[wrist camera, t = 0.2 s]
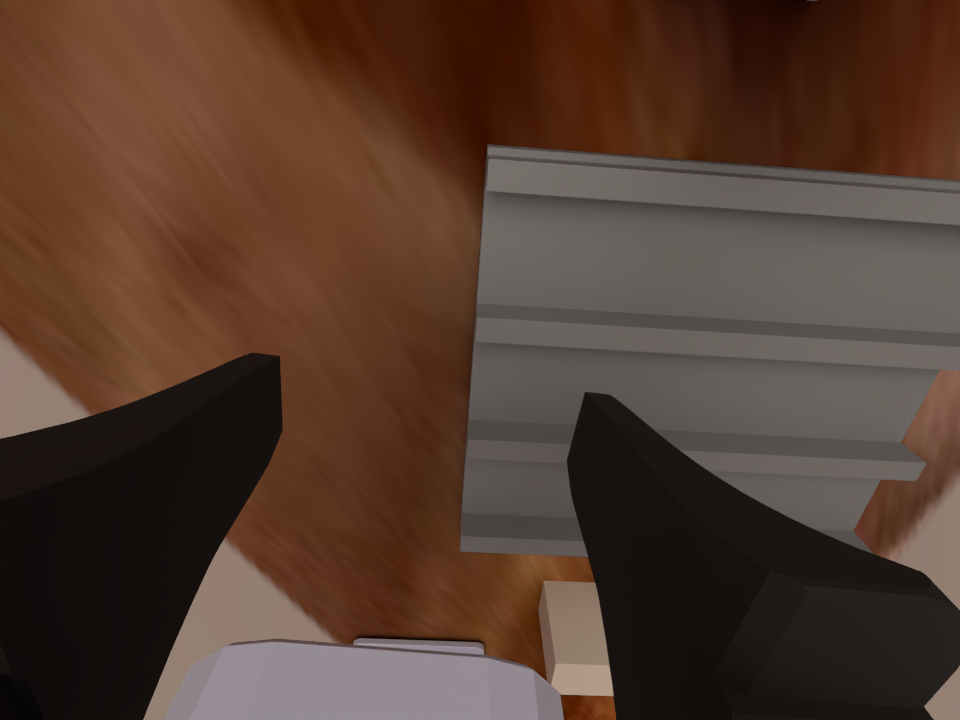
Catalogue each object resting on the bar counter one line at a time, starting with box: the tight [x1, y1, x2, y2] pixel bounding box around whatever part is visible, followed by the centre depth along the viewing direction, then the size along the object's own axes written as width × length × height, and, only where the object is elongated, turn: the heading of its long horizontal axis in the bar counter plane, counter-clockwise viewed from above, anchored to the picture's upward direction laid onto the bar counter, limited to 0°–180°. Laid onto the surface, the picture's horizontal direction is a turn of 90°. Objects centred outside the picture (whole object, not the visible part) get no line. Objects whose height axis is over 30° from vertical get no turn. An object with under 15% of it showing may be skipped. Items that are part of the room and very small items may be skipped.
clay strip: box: [538, 581, 614, 696], centre depth 28 cm, size 14×2×5 cm, turn 86°
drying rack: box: [460, 144, 960, 557], centre depth 22 cm, size 18×20×3 cm
